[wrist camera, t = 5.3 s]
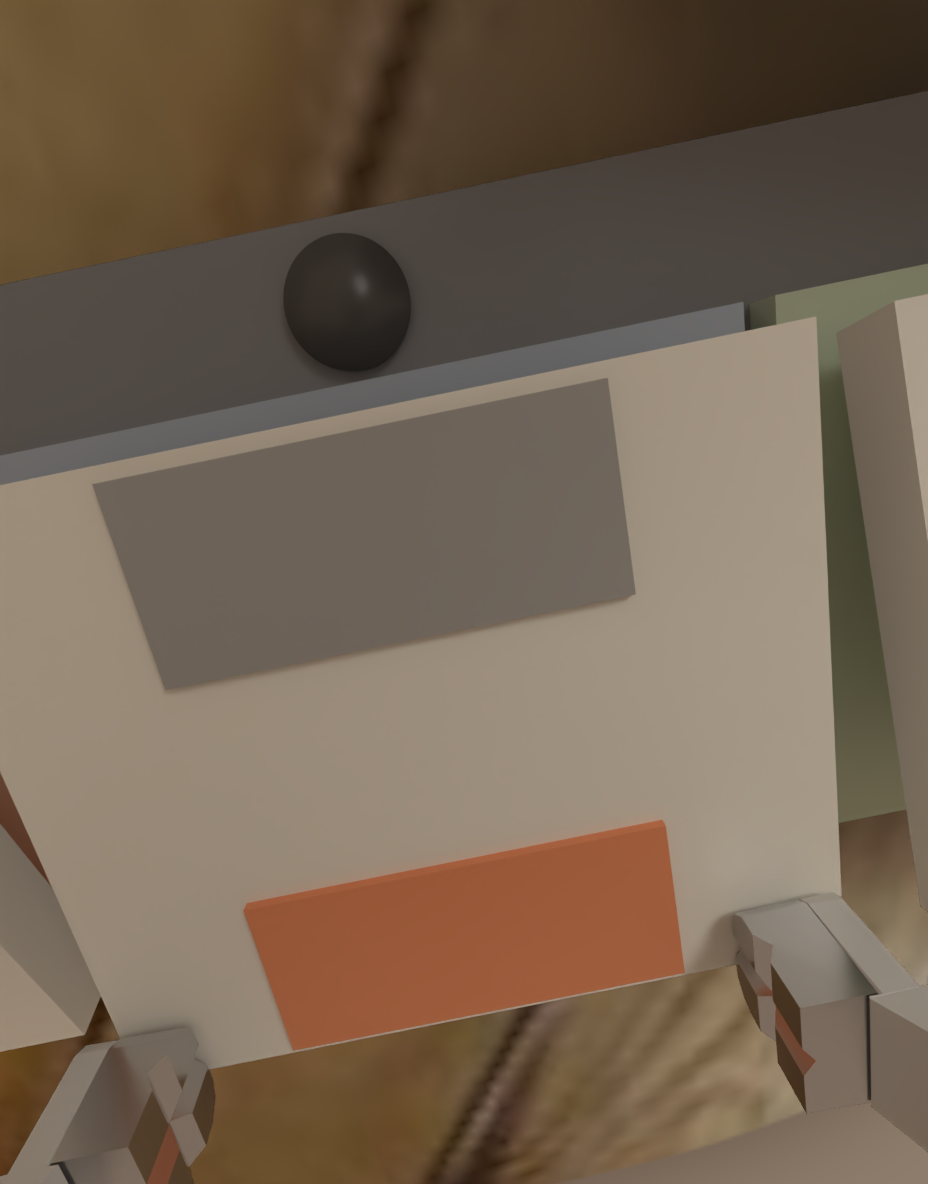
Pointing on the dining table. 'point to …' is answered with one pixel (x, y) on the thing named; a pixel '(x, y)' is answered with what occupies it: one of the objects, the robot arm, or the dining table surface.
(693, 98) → the dining table surface
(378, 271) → the gray rocker switch panel
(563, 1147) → the dining table surface
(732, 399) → the cream rectangular plate
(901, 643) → the cream two-patch switch cover
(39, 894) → the cream patched switch plate
